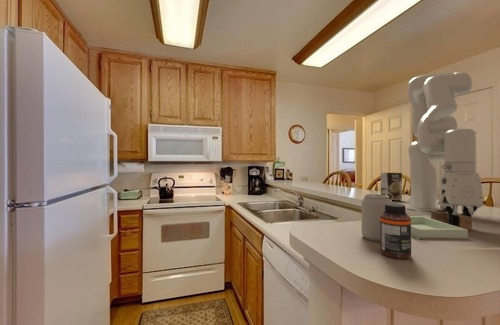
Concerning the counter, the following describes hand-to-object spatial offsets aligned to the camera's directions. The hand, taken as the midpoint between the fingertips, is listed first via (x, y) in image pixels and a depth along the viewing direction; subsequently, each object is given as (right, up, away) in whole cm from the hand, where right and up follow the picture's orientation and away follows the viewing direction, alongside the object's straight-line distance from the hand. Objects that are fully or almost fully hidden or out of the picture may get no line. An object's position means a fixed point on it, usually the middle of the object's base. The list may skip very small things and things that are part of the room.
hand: (459, 226), depth 75 cm
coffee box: (+16, -2, +63) cm, 65 cm away
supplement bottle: (-33, -1, -21) cm, 40 cm away
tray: (-13, -1, -2) cm, 14 cm away
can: (-31, -1, -9) cm, 33 cm away
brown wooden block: (0, 0, +4) cm, 4 cm away
